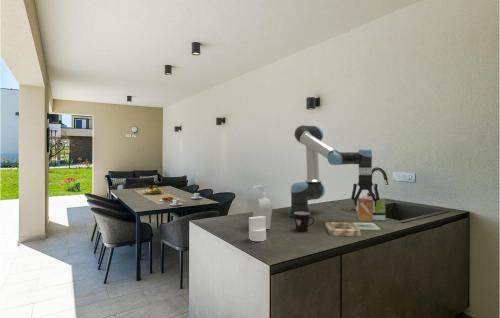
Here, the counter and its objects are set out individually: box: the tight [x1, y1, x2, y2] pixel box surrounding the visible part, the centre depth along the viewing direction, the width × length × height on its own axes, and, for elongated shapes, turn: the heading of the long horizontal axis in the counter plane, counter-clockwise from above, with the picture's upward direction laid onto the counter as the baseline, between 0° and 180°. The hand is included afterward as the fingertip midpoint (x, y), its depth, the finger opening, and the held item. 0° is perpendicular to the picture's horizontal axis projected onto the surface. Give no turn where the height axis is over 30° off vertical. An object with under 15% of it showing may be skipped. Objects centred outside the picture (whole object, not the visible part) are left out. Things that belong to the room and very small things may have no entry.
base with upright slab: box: [248, 216, 267, 241], centre depth 149 cm, size 9×9×12 cm
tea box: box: [358, 196, 386, 221], centre depth 193 cm, size 15×10×15 cm
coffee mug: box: [294, 212, 315, 233], centre depth 165 cm, size 12×9×10 cm
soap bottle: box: [251, 185, 273, 230], centre depth 170 cm, size 12×10×26 cm
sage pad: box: [352, 222, 381, 231], centre depth 174 cm, size 14×14×1 cm
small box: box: [357, 198, 374, 222], centre depth 173 cm, size 8×6×13 cm
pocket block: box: [324, 221, 362, 238], centre depth 163 cm, size 16×18×3 cm
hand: (365, 211), depth 173 cm, fingers closed on small box, 9 cm apart
